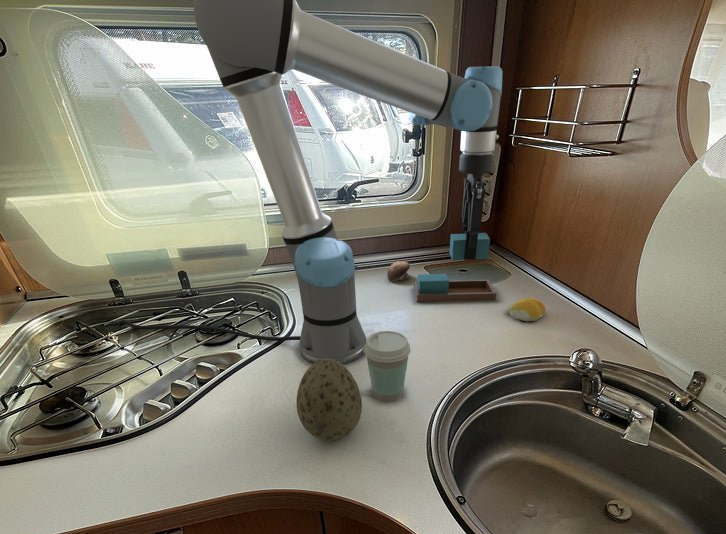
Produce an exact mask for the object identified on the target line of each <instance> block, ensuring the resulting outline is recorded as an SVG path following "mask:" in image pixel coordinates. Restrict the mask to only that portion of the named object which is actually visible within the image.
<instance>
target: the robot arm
mask: <svg viewBox="0 0 726 534" xmlns="http://www.w3.org/2000/svg"><path fill="white" fill-rule="evenodd" d="M193 15H194V16H193V17H194V22H195V25H196V28H197V31H198V33H199V36H200V37H201V39H202V42H203V43H204V44H205V46H206V48H207V49H208V53H209V56H210V57H211V60H212V63H213V65H214V67H215V70H216V72H217V76H218V78H219V81H220V82H221V85H222V88H223V90H225V91H226V92H227V93H229V94H231V95H232V96H233V97H234V98H236V101H237V104H238V106H239V109H240V112H241V114H242V117H243V119H244V122H245V125H246V127H247V130H248V132H249V135H250V138H251V140H252V143H253V145H254V148H255V150H256V153H257V156H258V158H259V161H260V164H261V167H262V168H263V172H264V175H265V176H266V180H267V182H268V184H269V187H270V190H271V192H272V194H273V197H274V200H275V202H276V205H277V208H278V210H279V213H280V216H281V217H282V221H283V223H284V227H283V229H282V231H281V234H280V235H281V238H282V239H283V242H284V245H285V247H286V250H287V252H288V255H289V258H290V261H291V263H292V266H293V268H294V273H295V276H296V280H297V283H298V284H297V285H298V289H299V296H300V301H301V309H302V317H303V322H302V327H301V332H300V335H291V336H290V335H287V336H266V335H258V334H252V333H248V332H247V333H246V332H242V331H237V330H233V329H229V328H225V327H217V326H211V325H210V326H209V325H195V324H160V325H155V324H154V325H140V324H134V323H132V322H130V321H128V320H127V319H121V320H119V321H118V324H117V325H118V326H122V325H127V326H128V327H130V328H133V329H135V330H201V331H202V330H204V331H213V332H220V333H226V334H230V335H234V336H238V337H241V338H248V339H254V340H260V341H268V342H287V341H299V342H298V347H299V353H300V355H301V356H302V357H303V358H304V360H306V361H308V362H310V363H312V364H314V363H315V362H316V361H318V360H321V359H325V358H329V359H333V360H336V361H338V362H339V363H341V364H342V365H344V364H347V363H350V362H352V361H355V360H356V359H358V358H360V357H361V356H362V355H364V354H365V353H364V346H365V344H366V341H367V337H366V334H365V331H364V329H363V326H362V324H361V323H360V320H359V317H358V314H357V313H358V312H357V297H356V295H357V294H356V279H355V277H356V276H355V266H356V265H355V264H356V262H355V259H354V258H355V257H354V253H353V250H352V248H351V246H350V245H349V244H348V243H346V242H345V241H343V240H341V239H340V240H338V236H337V233H336V230H335V227H334V223H333V220H332V218H331V216H329V215H327V214H325V213H323V211H322V208H321V205H320V202H319V198H318V196H317V193H316V190H315V187H314V184H313V181H312V177H311V174H310V171H309V168H308V165H307V162H306V159H305V155H304V152H303V150H302V147H301V143H300V141H299V137H298V133H297V131H296V127H295V124H294V122H293V119H292V118H293V117H292V115H291V112H290V109H289V106H288V103H287V99H286V97H285V94H284V90H283V87H282V78H283V77H284V76H285V75H287V74H288V73H290V72H292V71H293V72H295V73H298V74H301V75H304V76H307V77H310V78H312V79H315V80H318V81H321V82H324V83H326V84H330V85H332V86H335V87H338V88H341V89H342V90H343V89H344V90H346V91H349V92H351V93H354V94H357V95H359V96H360V95H361V96H363V97H366V98H368V99H372V100H374V101H377V102H380V103H383V104H385V105H388V106H392V107H394V108H397V109H398V110H399V109H400V110H402V111H405V112H407V114H408V118H409V120H410V122H411V123H412V125H415V126H425V127H426V126H429V125H430V126H431V125H436V126H441V127H444V128H450V129H454V130H457V131H460V146H459V148H460V149H459V151H461V152H462V153H461V154H460V155H459V164H458V171H459V173H461V174H464V175H467V177H464V179H463V196H462V198H463V199H462V208H461V210H462V211H461V221H462V227H461V228H462V229H461V230H462V231H461V234H466V243H465V255H464V260H463V261H473V260H475V261H476V260H477V259H476V249H477V239H478V233H482V232H481V231H482V223H483V222H482V221H483V211H484V203H485V195H486V188H485V181H484V179H483V178H484V177H483V176H484V175H485V174H490V173H491V172H492V171H493V170H494V169H493V168H494V161H495V155H494V153H493V151H495V148H496V141H497V140H499V134H497V130H498V122H499V115H500V108H501V107H500V105H501V99H502V93H503V69H502V68H501V66H497V65H491V66H490V65H489V66H487V65H486V66H469V67H467V69H466V70H465V74H464V77H462V76H459V75H457V74H455V73H452V72H449V71H446V70H444V69H443V68H440V67H438V66H436V65H433V64H431V63H429V62H426V61H424V60H421V59H419V58H417V57H414V56H411V55H409V54H407V53H404V52H402V51H400V50H397V49H395V48H393V47H390V46H387V45H385V44H383V43H381V42H378V41H376V40H373V39H371V38H368V37H365V36H363V35H362V34H359V33H357V32H354V31H351V30H349V29H346V28H345V27H342V26H339V25H337V24H335V23H332V22H330V21H327V20H325V19H323V18H320V17H318V16H315V15H313V14H310V13H308V12H306V11H303V10H302V9H301V7H300V6H299V4H298V2H297V0H193Z"/></svg>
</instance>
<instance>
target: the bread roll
mask: <svg viewBox="0 0 726 534" xmlns="http://www.w3.org/2000/svg"><path fill="white" fill-rule="evenodd" d="M508 312H509V314H510V316H511V317H513V318H515V319H518V320H519V321H522V322H535V321H538V320H539V319H540V318H542V317H543V316H545V314H546V312H547V309H546V306H545V304H544V303H543V302H542V301H541V300H539V299H537V298H534V297H526V298H521V299H519V300H517V301H515V302H514V303H512V304H511V305H510V307H509V309H508Z"/></svg>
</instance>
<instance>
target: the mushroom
mask: <svg viewBox="0 0 726 534" xmlns="http://www.w3.org/2000/svg"><path fill="white" fill-rule="evenodd" d="M410 268H411V265H410V263H408V262H407V261H400V260H398V261H395V262H392V264H390V266H389V267H388V269H387V272H386V275H387V279H388V281H389V282H391V283H394V282H397V281H405V280H406V279H409V278H410V277H411V274H409V273H408V271H409V269H410Z"/></svg>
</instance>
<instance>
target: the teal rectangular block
mask: <svg viewBox="0 0 726 534" xmlns="http://www.w3.org/2000/svg"><path fill="white" fill-rule="evenodd" d="M465 243H466V234H462V233H450V239H449V255H450V258H451V261H465V260H464V255H465ZM490 243H491V238H490V236H489V235H488V234H487V232H480V233H478V239H477V249H476V259H475V260H488V259H489V254H490V253H489V252H490Z"/></svg>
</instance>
